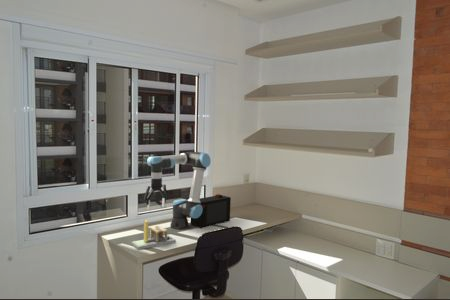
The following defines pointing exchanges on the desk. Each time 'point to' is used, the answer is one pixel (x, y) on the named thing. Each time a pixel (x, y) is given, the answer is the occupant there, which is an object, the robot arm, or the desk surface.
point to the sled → (147, 233)
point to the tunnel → (157, 230)
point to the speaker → (213, 211)
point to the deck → (152, 243)
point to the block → (158, 234)
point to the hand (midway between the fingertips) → (156, 208)
